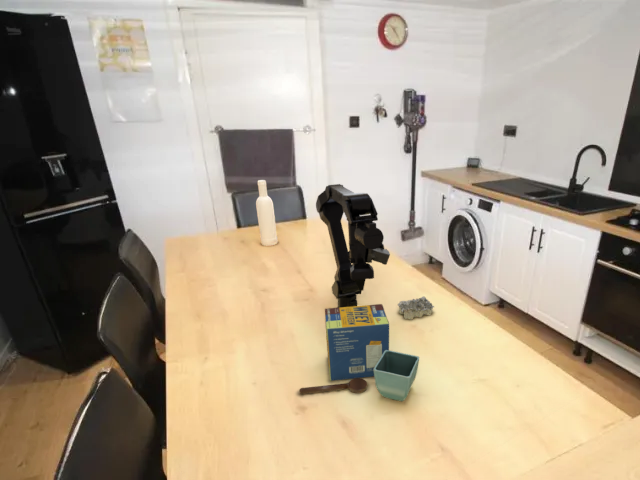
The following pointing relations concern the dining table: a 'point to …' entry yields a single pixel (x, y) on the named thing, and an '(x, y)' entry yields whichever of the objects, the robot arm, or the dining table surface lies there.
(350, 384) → the wooden spoon
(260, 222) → the bottle
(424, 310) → the egg carton
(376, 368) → the flower pot
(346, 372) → the protein box
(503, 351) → the dining table surface
